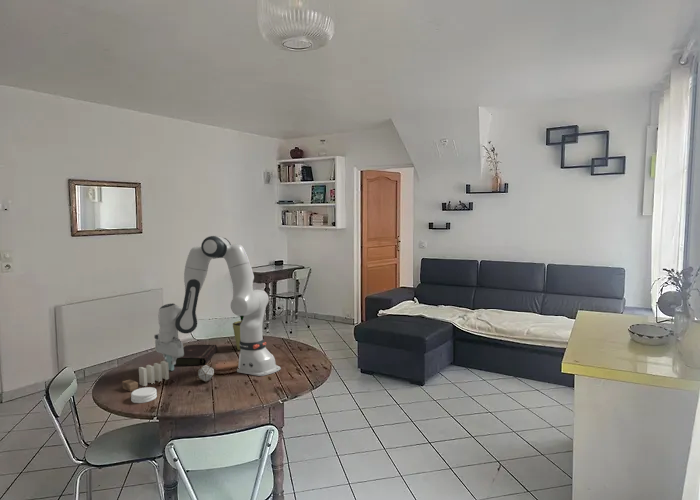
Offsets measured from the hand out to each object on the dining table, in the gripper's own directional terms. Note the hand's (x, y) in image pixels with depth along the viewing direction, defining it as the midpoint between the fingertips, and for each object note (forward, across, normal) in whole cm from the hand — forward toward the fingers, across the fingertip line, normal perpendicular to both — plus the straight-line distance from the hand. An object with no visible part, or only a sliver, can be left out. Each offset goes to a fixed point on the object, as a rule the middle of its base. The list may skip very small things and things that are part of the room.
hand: (170, 363), depth 233 cm
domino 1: (+4, -8, +19) cm, 21 cm away
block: (+4, -8, +25) cm, 27 cm away
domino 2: (+4, -8, +15) cm, 18 cm away
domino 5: (+3, 0, 0) cm, 3 cm away
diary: (+4, +8, -19) cm, 21 cm away
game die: (+4, -29, -1) cm, 29 cm away
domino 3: (+4, -8, +12) cm, 15 cm away
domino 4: (+4, -8, +8) cm, 12 cm away
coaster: (+4, -24, +27) cm, 37 cm away
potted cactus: (+4, 0, -49) cm, 49 cm away
